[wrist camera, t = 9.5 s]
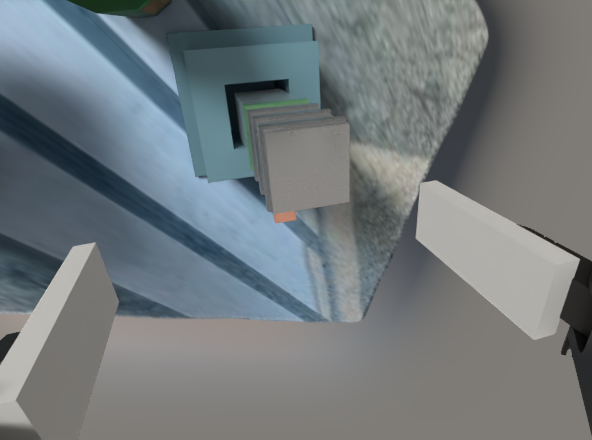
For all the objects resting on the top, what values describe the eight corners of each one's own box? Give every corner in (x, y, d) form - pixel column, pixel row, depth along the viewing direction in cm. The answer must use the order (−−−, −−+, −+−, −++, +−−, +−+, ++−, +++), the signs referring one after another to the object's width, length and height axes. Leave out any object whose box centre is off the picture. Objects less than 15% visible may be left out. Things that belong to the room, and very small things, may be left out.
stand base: (195, 174, 51) (191, 244, 33) (166, 33, 43) (140, 21, 25) (316, 158, 54) (373, 213, 36) (310, 24, 46) (380, 7, 28)
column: (239, 139, 41) (270, 217, 22) (232, 90, 39) (261, 130, 20) (284, 134, 42) (352, 204, 23) (280, 86, 40) (352, 119, 21)
